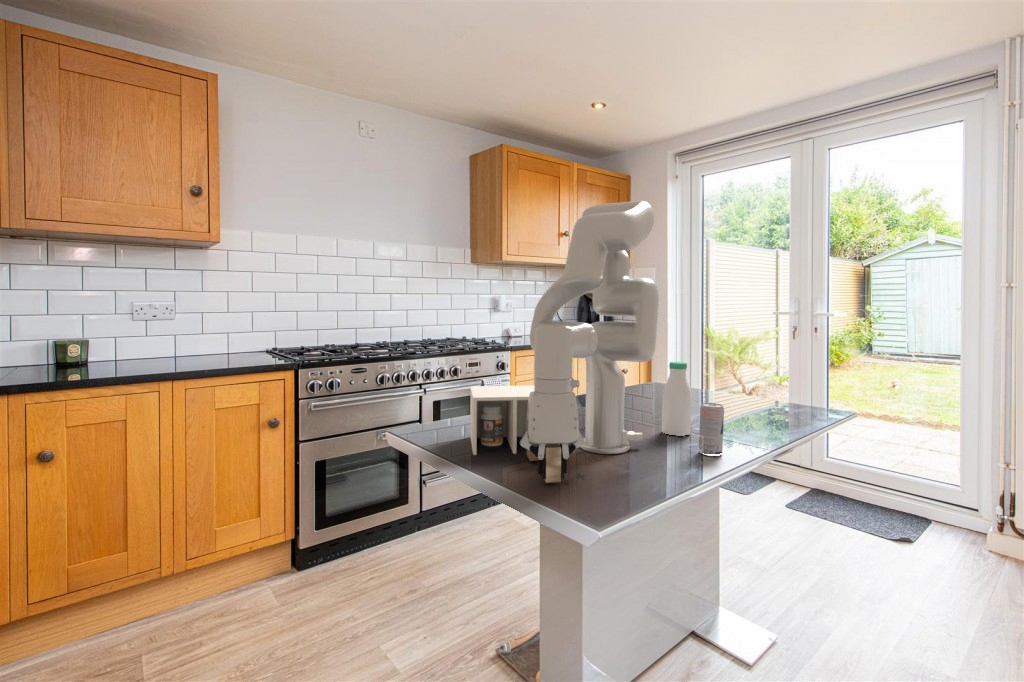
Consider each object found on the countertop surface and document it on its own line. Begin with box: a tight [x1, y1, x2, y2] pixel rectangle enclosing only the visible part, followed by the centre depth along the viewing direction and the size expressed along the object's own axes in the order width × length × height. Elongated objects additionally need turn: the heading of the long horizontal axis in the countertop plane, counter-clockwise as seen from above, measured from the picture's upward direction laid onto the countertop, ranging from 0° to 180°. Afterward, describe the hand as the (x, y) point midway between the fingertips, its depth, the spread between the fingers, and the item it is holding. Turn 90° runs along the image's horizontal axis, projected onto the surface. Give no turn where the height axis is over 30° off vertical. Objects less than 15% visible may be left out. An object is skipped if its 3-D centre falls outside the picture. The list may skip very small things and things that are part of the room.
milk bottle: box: [661, 361, 693, 436], centre depth 143 cm, size 8×8×20 cm
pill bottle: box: [480, 404, 504, 447], centre depth 132 cm, size 6×6×10 cm
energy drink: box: [698, 402, 725, 454], centre depth 124 cm, size 5×5×12 cm
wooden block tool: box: [526, 441, 562, 484], centre depth 111 cm, size 5×19×7 cm, turn 7°
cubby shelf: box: [469, 384, 534, 456], centre depth 131 cm, size 20×16×14 cm
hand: (551, 476), depth 104 cm, fingers closed on wooden block tool, 3 cm apart
